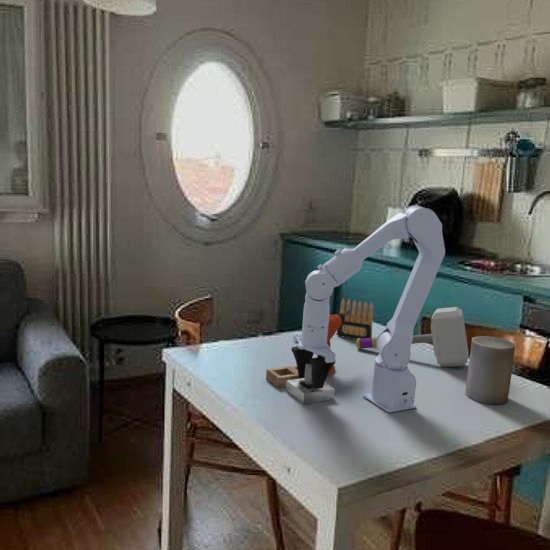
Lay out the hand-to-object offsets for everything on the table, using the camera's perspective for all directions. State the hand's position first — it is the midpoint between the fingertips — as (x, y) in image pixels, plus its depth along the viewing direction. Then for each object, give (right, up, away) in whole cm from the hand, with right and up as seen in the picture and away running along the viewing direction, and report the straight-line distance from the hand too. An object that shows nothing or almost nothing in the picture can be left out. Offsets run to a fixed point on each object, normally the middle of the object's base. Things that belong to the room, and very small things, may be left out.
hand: (310, 382), depth 128 cm
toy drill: (+6, 0, +20) cm, 21 cm away
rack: (-4, -1, +9) cm, 10 cm away
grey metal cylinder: (0, -3, +1) cm, 3 cm away
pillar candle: (+42, -5, +7) cm, 43 cm away
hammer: (+30, +1, +32) cm, 44 cm away
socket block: (0, -3, +1) cm, 3 cm away
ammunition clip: (+16, +5, +47) cm, 50 cm away
